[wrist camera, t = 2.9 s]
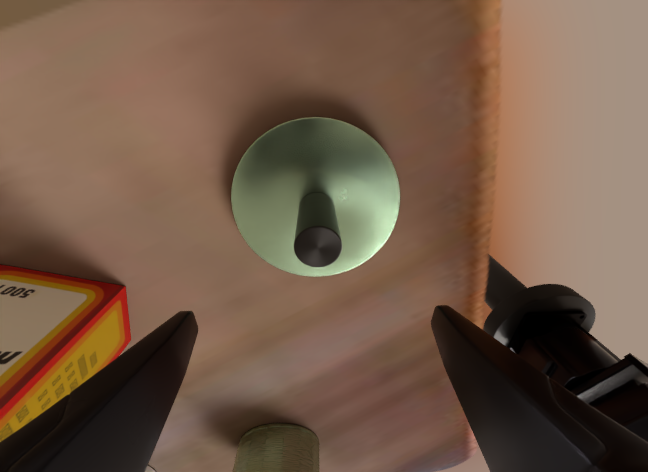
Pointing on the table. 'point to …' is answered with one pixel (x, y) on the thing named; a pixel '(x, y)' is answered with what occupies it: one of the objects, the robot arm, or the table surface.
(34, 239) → the table surface
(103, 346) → the baking soda box
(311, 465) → the canister
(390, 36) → the table surface
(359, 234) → the lid
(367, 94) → the table surface
